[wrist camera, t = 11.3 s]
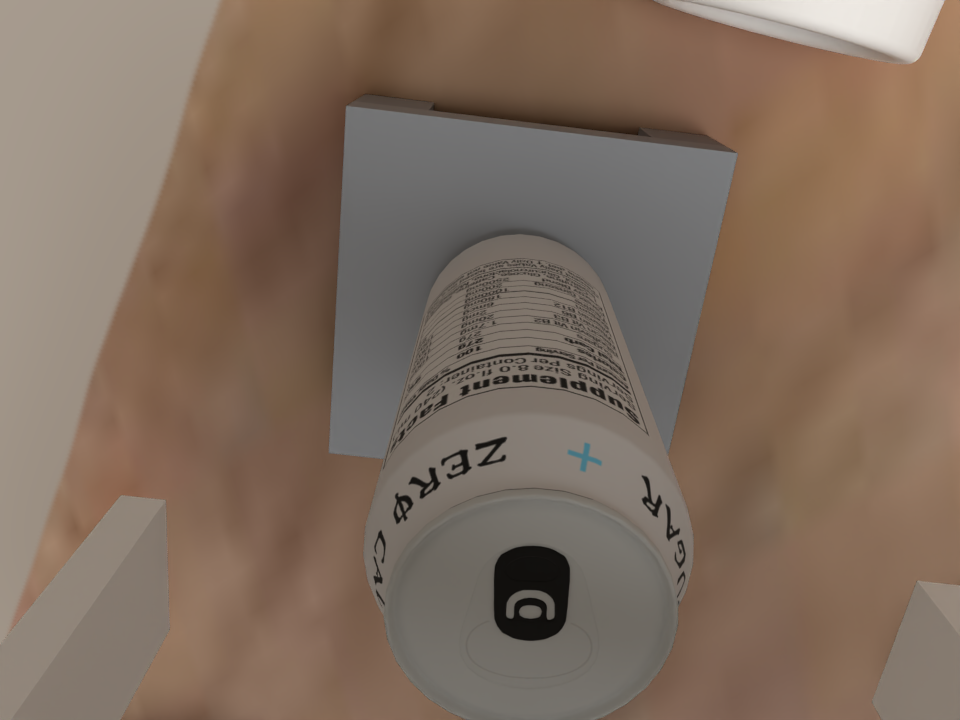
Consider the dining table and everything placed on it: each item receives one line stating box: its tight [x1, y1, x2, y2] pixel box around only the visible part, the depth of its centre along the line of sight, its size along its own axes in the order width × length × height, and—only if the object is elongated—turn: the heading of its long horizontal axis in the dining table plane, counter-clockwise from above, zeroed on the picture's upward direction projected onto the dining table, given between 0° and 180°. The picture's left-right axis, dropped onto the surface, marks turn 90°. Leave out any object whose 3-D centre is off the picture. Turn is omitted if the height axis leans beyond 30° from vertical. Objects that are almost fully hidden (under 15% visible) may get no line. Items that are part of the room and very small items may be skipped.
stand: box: [329, 94, 738, 459], centre depth 29 cm, size 12×12×4 cm
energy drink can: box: [363, 234, 694, 720], centre depth 20 cm, size 6×6×15 cm
